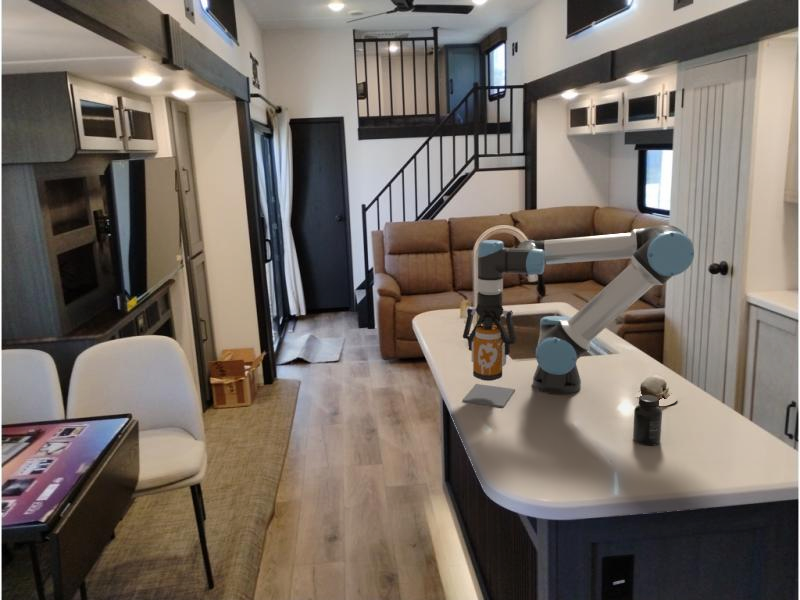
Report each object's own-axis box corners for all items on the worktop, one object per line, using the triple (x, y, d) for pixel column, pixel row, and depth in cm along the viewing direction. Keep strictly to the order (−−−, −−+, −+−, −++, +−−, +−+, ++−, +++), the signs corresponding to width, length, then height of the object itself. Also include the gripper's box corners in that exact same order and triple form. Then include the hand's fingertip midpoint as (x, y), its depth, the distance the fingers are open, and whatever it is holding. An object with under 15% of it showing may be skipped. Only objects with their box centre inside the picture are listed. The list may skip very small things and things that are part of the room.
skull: (653, 384, 201) (672, 369, 193) (669, 413, 196) (690, 399, 188) (624, 390, 197) (642, 374, 189) (640, 420, 191) (659, 405, 183)
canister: (471, 381, 192) (472, 318, 187) (474, 368, 203) (475, 308, 198) (501, 383, 190) (503, 319, 185) (503, 370, 201) (504, 309, 196)
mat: (515, 390, 202) (515, 389, 201) (503, 407, 189) (503, 405, 189) (476, 385, 207) (476, 383, 207) (462, 401, 194) (462, 399, 194)
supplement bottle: (659, 436, 169) (662, 394, 166) (660, 447, 163) (664, 404, 160) (632, 433, 171) (635, 391, 168) (632, 444, 165) (635, 401, 162)
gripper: (528, 291, 189) (526, 362, 194) (459, 286, 197) (459, 354, 203) (522, 297, 182) (520, 370, 188) (451, 291, 191) (451, 361, 196)
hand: (488, 362), depth 195 cm, fingers closed on canister, 9 cm apart
